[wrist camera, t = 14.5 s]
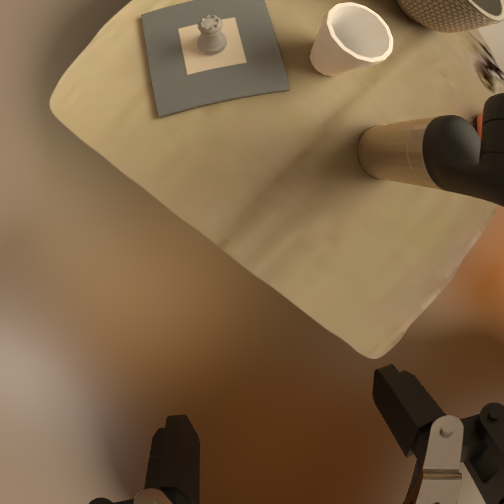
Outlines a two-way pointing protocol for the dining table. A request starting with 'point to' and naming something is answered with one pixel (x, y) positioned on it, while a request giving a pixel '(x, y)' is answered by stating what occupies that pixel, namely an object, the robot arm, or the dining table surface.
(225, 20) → the board
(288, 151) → the dining table surface
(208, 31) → the rook chess piece
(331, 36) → the foam cup
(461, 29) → the planter
